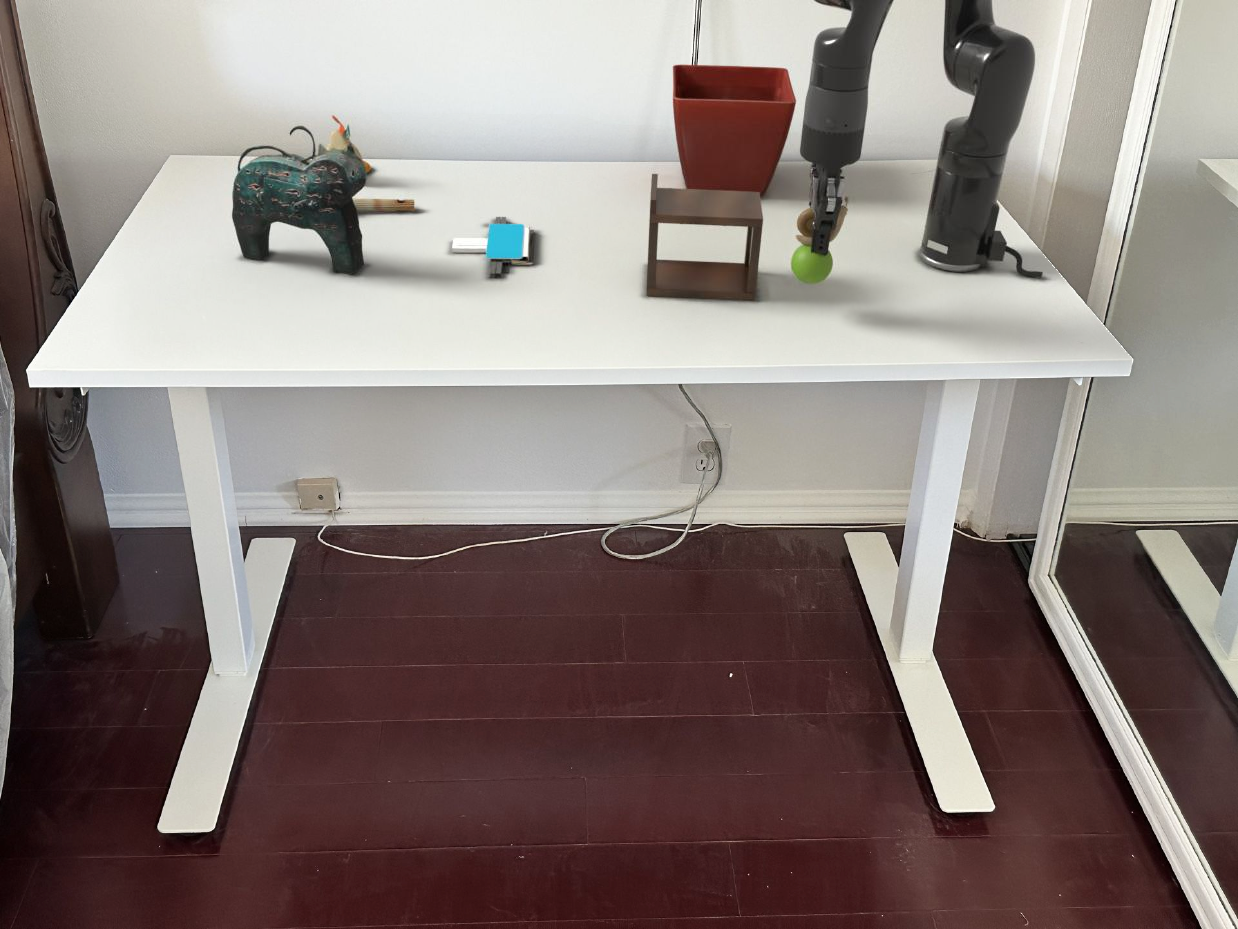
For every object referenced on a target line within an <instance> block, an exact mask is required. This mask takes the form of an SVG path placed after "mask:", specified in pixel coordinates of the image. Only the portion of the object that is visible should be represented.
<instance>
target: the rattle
mask: <svg viewBox="0 0 1238 929" xmlns="http://www.w3.org/2000/svg"><path fill="white" fill-rule="evenodd" d="M331 118H332V119H333V121H335V123H337V124H339V128H337V129H335V130H334V131H332V133H331V134H330V142H329V143H328V145H327V146H326V148H325V149H326V150H327V151H333V150H343V149H344V148H345V147H346V146H347V145H348V144H349V143H351V145H352V146H353V148H354V151H355V153H356V155H357V156H358V157H359V158H360V159H361V160H362V161H363V163H364V165H365V167H366V174H367V173H369V172H370V171H371V170H372V166H371V165H370V163H369V162H367V161H366V160H363V157H362V154H361V152H360V151H359V149H358V148H357V147H356V145H355V144H353V143H352V141H351V139H350V138H351V130H350V125H349V123H346V129H345V126H344V125H343V124H342V122H340V120H339V119H338V118H337V116H335V115H331Z"/></svg>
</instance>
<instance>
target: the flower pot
mask: <svg viewBox="0 0 1238 929" xmlns="http://www.w3.org/2000/svg"><path fill="white" fill-rule="evenodd" d="M796 104H797V99H796V96H795V92H794V88H793V85H792V82H791V78H790V72H789V70H788V69H787V68H785V67H775V66H773V67H772V66H746V65H745V66H744V65H709V64H674V65H673V66H672V108H673V109H672V112H673V121H674V132H675V140H676V145H677V153H678V158H679V163H680V168H681V173H682V177H683V182H684V185H685V189H700V190H724V191H748V192H759V193H760V197H764V196H765V195H766V193H767V191H768V188H769V187H770V185H771V182H772V180H773V178H774V175H775V172H776V170H777V168H778V166H779V163H780V161H781V157H782V154H783V151H784V149H785V146H786V141H787V139H788V135H789V132H790V129H791V126H792V125H791V124H792V121H793V117H794V114H795V110H796Z"/></svg>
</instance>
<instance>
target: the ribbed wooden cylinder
mask: <svg viewBox="0 0 1238 929" xmlns="http://www.w3.org/2000/svg"><path fill="white" fill-rule="evenodd" d="M352 199H353V202H354V204H355V206H356V209H357V211H372V212H373V211H375V212H377V211H379V212H381V211H382V212H383V211H384V212H385V211H386V212H399V211H403V212H415V199H403V200H402V199H399V198H398V199H395V198H359V197H357V198H356V197H355V198H354V197H352Z"/></svg>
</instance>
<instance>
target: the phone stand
mask: <svg viewBox="0 0 1238 929" xmlns="http://www.w3.org/2000/svg"><path fill="white" fill-rule="evenodd" d="M534 252H535V229H533V228H531V226H530V225H528V226H525V225H524V224H523V223H507V216H495V222H494V223H490V224H489V225H488V233H487V237H486V238H485V237H483V238H482V237H474V238H473V237H454V238H453V240H452V245H451V253H469V254H470V253H471V254H472V253H475V254H476V253H477V254H478V253H480V254H484V253H485V259H486V260H490V266H489V267H490V268H489V269H490V270H489V278H501V277H502V274H509V272H510V266H534V254H535V253H534Z"/></svg>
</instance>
